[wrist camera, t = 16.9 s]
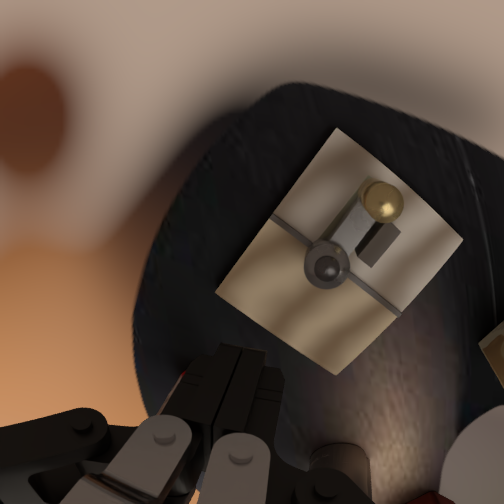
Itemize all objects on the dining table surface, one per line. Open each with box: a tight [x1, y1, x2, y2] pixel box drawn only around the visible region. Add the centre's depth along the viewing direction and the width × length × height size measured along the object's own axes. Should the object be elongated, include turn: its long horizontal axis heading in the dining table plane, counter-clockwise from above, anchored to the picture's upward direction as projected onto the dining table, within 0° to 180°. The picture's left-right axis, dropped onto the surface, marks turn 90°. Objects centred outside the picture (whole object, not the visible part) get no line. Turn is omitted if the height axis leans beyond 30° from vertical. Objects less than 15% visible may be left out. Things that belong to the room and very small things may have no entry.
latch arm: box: [304, 178, 404, 289], centre depth 28 cm, size 12×4×6 cm, turn 148°
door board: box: [215, 128, 463, 375], centre depth 32 cm, size 18×22×4 cm
